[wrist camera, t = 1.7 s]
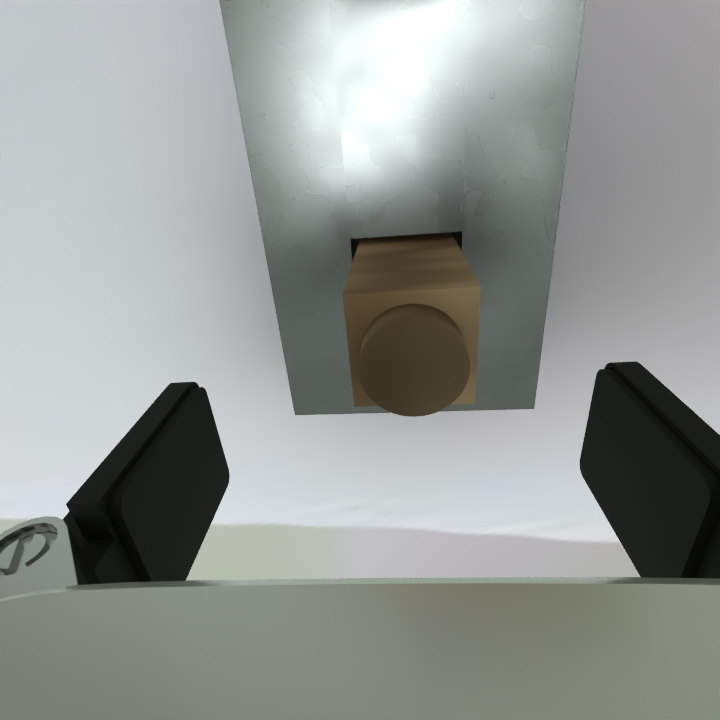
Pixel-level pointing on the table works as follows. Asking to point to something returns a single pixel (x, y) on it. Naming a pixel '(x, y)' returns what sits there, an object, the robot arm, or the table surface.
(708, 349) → the table surface
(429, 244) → the walnut plug
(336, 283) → the block
